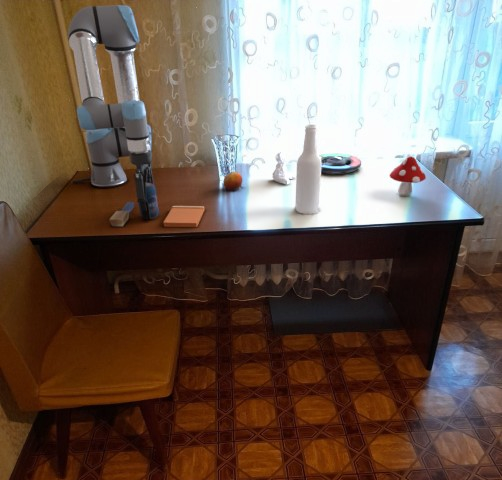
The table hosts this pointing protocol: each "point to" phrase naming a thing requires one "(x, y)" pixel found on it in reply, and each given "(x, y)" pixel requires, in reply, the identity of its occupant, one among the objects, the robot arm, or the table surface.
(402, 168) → the decorative mushroom
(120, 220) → the brush
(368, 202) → the table surface
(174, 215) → the orange flat block
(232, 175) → the fruit
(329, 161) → the electronic game
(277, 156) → the white creature statuette
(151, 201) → the soda can
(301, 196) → the alcohol
